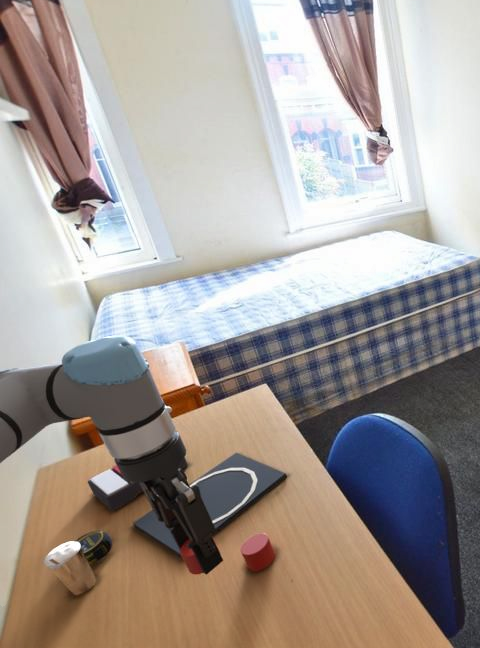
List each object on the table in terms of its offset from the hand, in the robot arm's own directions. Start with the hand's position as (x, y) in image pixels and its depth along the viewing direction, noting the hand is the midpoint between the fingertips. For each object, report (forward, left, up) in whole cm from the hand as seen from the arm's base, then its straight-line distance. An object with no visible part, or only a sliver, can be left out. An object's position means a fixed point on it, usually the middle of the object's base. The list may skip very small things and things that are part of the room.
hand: (204, 560), depth 74 cm
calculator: (+9, +46, -8) cm, 47 cm away
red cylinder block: (0, 0, 0) cm, 0 cm away
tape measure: (-7, +31, -8) cm, 32 cm away
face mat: (+12, +23, -8) cm, 27 cm away
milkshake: (-10, +25, -8) cm, 28 cm away
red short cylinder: (+7, 0, -8) cm, 11 cm away
